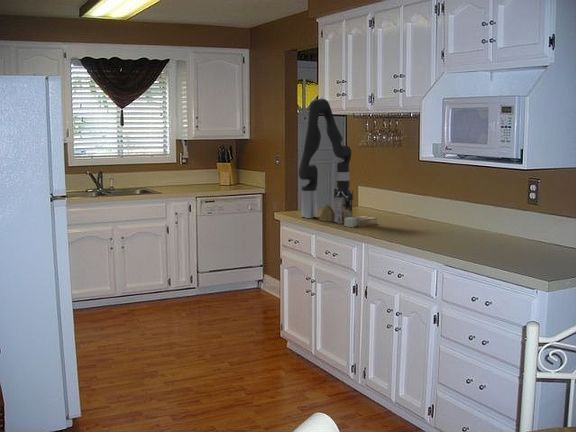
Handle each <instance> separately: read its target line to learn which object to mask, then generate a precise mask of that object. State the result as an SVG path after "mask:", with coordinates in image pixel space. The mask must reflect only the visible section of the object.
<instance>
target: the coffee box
mask: <svg viewBox="0 0 576 432" xmlns="http://www.w3.org/2000/svg"><path fill="white" fill-rule="evenodd" d="M350 198H351V196H350ZM333 199H334V205H333V206H334V207H333V208H334V210H333V211H334V213H335V221H334V223H335V222H337V223H336V224H340V223H344V218H348V217H353V200H351V201H350V207H349V208H347V207H346V199H345V197H344V196H334V195H333Z"/></svg>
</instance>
